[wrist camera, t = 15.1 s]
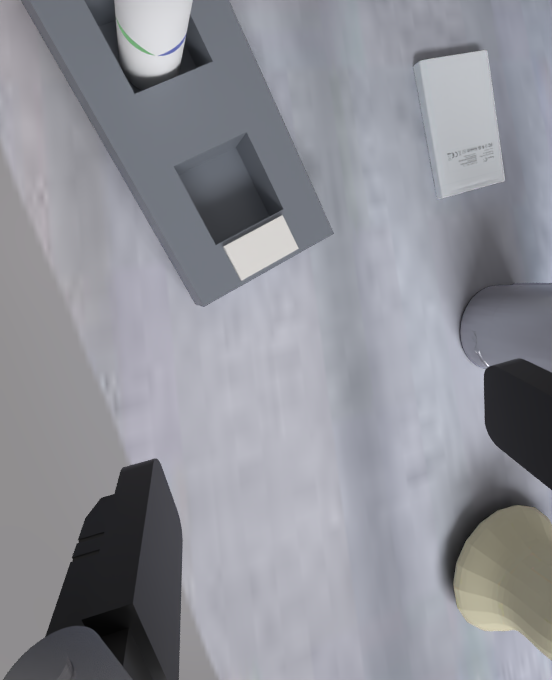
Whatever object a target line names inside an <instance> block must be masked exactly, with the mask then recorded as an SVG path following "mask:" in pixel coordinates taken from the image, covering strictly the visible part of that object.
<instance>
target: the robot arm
mask: <svg viewBox="0 0 552 680" xmlns="http://www.w3.org/2000/svg"><path fill="white" fill-rule="evenodd" d="M460 334H461V342H462V346H463V349H464V351H465V353H466V355H467V357H468V358H469V359H470V360H471V361H472V362H473V363H474V364H476V365H477V366H479V367H482V368H485V369H486V370H485V373H484V404H485V425H486V429H487V432H488V434H489V436H490V438H491V439H492V441H493V442H494V443H495V445H496V446H498V447H499V448H500V449H501V450H502V451H504V452H505V453H506V454H507V455H509V456H510V457H511V458H512V459H514V460H515V461H516V462H517V463H519V464H520V465H521V466H522V467H524V468H525V469H526V470H527V471H529V472H530V473H531V474H532V475H534V476H535V477H536V478H537V479H539V480H540V481H541V482H542V483H544V484H545V485H546V486H547V487H549V488H550V489H551V490H552V283H514V284H512V285H496V286H490V287H487V288H484V289H483V290H481V291H480V292H478V293H477V294H476V295H475V296H474V297H473V298H472V299H471V301H470V302H469V304H468V305H467V307H466V309H465V312H464V314H463V318H462V322H461V331H460ZM78 540H79V543H78V544H77V545H76V548H75V551H74V553H73V556H72V558H73V562H71V563H70V566H69V568H68V572H67V574H66V578H65V580H64V583H63V586H62V589H61V592H60V595H59V599H58V601H57V604H56V607H55V610H54V613H53V616H52V619H51V622H50V625H49V628H48V631H47V634H46V636H45V638H43V639H42V640H40V641H39V642H37V643H36V644H35V645H33V646H32V647H31V648H30V649H29V650H28V651H27V652H25V653H24V654H23V655H22V656H21V657H20V658H19V659H18V661H17V662H16V663H15V664H14V665H13V666H12V668H11V669H10V670H9V672H8V673H7V674H6V676H5V677H4V679H3V680H179V650H180V613H181V578H182V529H181V523H180V518H179V515H178V511H177V508H176V506H175V503H174V500H173V497H172V494H171V492H170V489H169V486H168V483H167V480H166V477H165V475H164V472H163V469H162V466H161V464H160V462H159V460H158V459H152V460H148V461H145V462H141V463H138V464H134V465H130V466H127V467H123V468H122V470H121V472H120V476H119V479H118V483H117V487H116V490H115V494H113V495H110V496H106V497H103V498H101V499H100V500H99V501H98V503H97V504H96V505H95V507H94V508H93V509H92V511H91V512H90V513H89V514H88V516H87V517H86V518H85V521H84V524H83V527H82V530H81V533H80V536H79V539H78Z"/></svg>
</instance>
